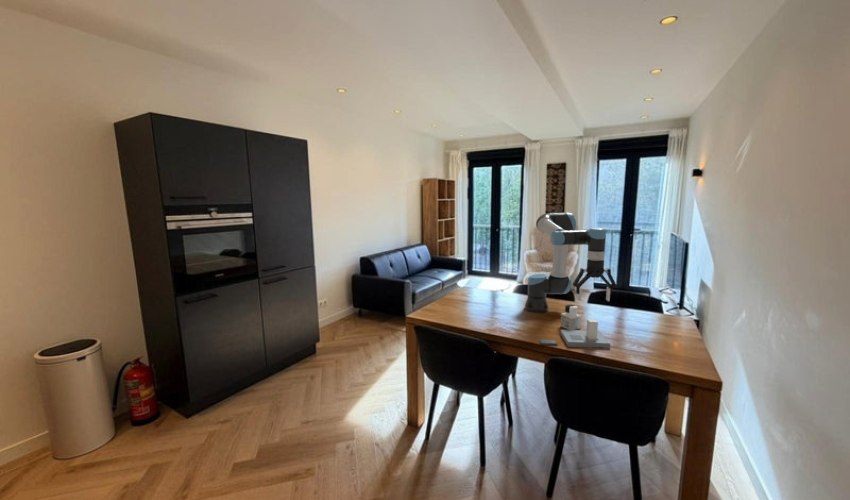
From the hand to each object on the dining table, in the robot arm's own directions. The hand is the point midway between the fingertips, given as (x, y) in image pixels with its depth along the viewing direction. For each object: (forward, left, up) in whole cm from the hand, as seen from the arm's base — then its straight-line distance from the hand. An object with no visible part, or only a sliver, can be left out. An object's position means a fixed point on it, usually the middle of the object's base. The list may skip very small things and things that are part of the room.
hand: (593, 300), depth 174 cm
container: (-20, -5, -23) cm, 31 cm away
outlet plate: (-2, -3, -23) cm, 23 cm away
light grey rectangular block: (0, 0, -23) cm, 23 cm away
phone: (+3, -22, -23) cm, 32 cm away
